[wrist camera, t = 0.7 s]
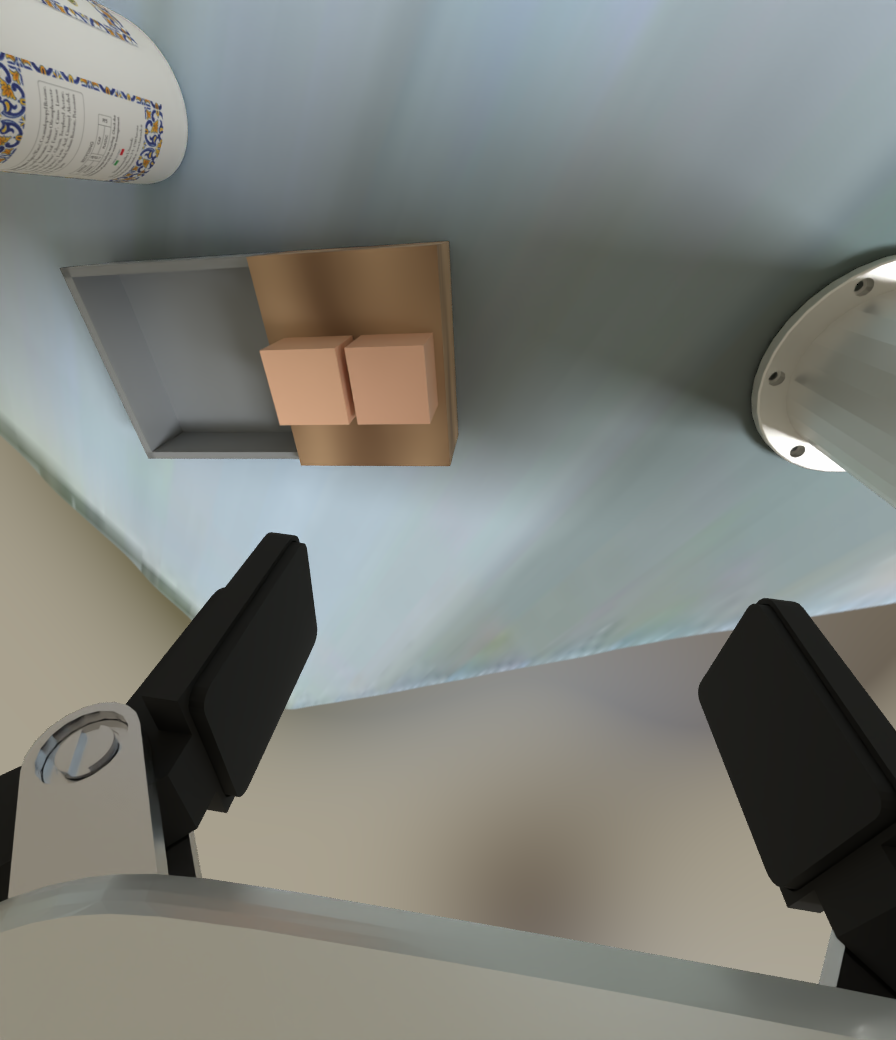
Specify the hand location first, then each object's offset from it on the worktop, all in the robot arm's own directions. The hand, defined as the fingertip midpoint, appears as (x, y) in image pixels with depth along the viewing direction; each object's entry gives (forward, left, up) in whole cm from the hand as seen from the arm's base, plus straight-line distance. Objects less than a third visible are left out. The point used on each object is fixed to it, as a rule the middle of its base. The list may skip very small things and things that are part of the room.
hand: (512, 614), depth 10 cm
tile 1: (+6, 0, -18) cm, 19 cm away
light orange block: (+11, 0, -18) cm, 21 cm away
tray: (+20, 0, -23) cm, 31 cm away
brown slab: (+9, 0, -23) cm, 25 cm away
